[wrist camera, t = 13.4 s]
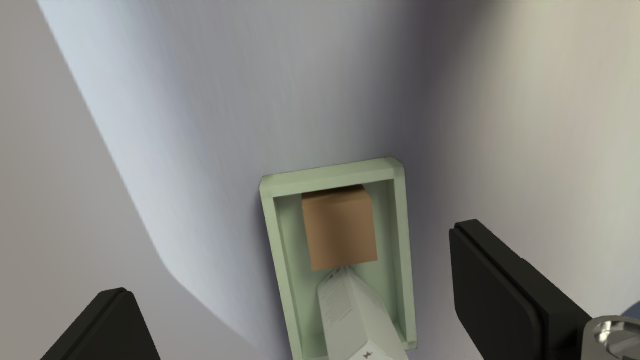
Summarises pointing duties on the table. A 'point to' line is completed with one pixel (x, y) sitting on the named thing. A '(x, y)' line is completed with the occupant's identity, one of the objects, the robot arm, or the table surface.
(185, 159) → the table surface
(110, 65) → the table surface
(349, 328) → the skincare box
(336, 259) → the walnut block
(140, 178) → the table surface
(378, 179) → the tote
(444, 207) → the table surface
